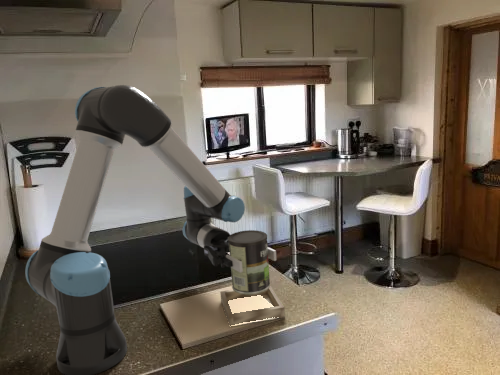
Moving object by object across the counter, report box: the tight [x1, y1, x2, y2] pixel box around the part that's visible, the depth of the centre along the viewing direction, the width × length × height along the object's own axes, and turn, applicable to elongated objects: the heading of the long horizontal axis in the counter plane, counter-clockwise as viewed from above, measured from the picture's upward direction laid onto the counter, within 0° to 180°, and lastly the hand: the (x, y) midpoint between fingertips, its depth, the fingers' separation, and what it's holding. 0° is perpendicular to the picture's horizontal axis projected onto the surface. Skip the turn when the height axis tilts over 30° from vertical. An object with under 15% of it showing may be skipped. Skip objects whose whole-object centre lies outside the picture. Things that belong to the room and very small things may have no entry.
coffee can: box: [228, 229, 271, 295], centre depth 111 cm, size 10×10×14 cm
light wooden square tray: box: [219, 284, 286, 327], centre depth 114 cm, size 14×14×3 cm
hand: (258, 261), depth 108 cm, fingers closed on coffee can, 10 cm apart
